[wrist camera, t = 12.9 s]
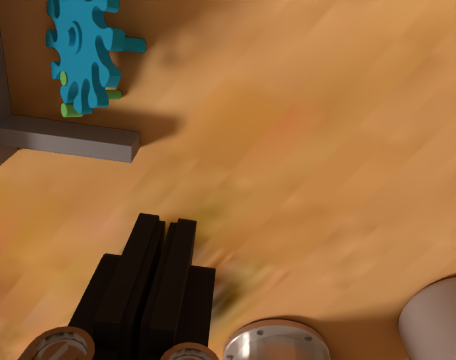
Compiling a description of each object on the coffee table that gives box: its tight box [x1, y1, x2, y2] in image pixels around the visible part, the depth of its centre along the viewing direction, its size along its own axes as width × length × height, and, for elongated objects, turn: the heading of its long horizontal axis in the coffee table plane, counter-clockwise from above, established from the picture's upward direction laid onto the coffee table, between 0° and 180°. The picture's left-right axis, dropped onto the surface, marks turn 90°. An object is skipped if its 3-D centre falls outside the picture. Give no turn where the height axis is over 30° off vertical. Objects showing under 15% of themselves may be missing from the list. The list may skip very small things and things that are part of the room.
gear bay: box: [0, 34, 140, 165], centre depth 27 cm, size 15×22×6 cm
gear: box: [46, 0, 146, 117], centre depth 28 cm, size 11×6×10 cm
